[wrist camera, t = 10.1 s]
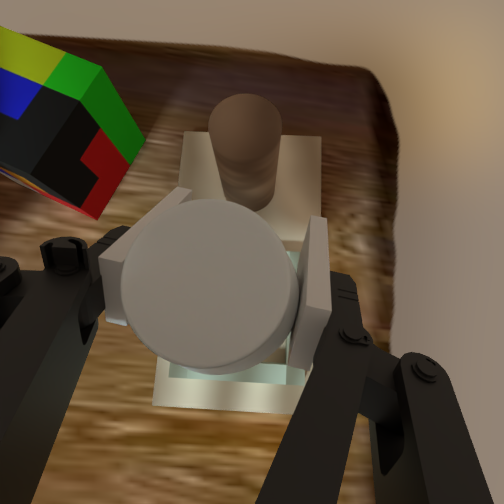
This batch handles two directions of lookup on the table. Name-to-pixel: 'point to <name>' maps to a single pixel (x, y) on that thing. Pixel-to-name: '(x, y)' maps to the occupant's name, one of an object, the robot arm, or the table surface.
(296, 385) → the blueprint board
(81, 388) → the table surface
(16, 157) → the puzzle toy
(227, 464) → the table surface
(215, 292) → the pill bottle
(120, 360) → the table surface
